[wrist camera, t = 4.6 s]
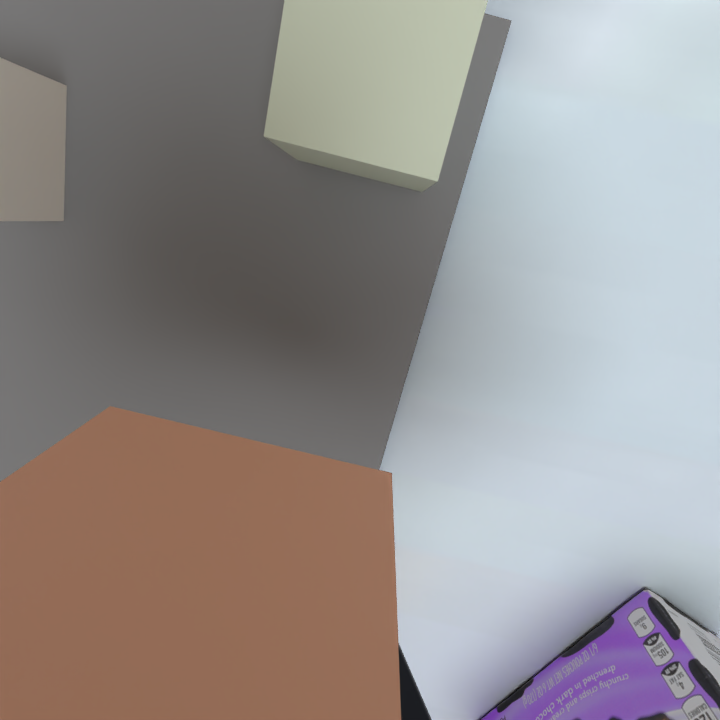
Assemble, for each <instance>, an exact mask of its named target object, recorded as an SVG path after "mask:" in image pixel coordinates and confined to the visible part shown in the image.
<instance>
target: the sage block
mask: <svg viewBox="0 0 720 720" xmlns="http://www.w3.org/2000/svg"><path fill="white" fill-rule="evenodd" d="M487 2H488V0H284V7H283V13H282V20H281V26H280V33H279V39H278V46H277V52H276V59H275V65H274V72H273V78H272V85H271V91H270V98H269V105H268V111H267V118H266V124H265V131H264V137H265V138H266V139H268V140H269V141H271V142H272V143H274V144H275V145H276V146H278V147H279V148H281V149H282V150H284V151H285V152H286V153H288V154H289V155H291V156H292V157H294V158H295V159H296V160H299V161H303V162H307V163H311V164H315V165H319V166H322V167H326V168H330V169H334V170H338V171H342V172H346V173H350V174H354V175H357V176H361V177H365V178H369V179H373V180H377V181H381V182H385V183H388V184H392V185H396V186H400V187H404V188H408V189H412V190H416V191H420V192H423V191H424V190H426V189H427V188H429V187H430V186H432V185H433V184H435V183H436V182H438V179H439V175H440V172H441V168H442V164H443V161H444V157H445V153H446V150H447V146H448V143H449V139H450V135H451V132H452V128H453V125H454V121H455V117H456V114H457V110H458V107H459V103H460V99H461V96H462V92H463V88H464V85H465V81H466V78H467V74H468V70H469V67H470V63H471V60H472V56H473V52H474V49H475V45H476V42H477V38H478V34H479V31H480V27H481V23H482V20H483V16H484V13H485V9H486V5H487Z"/></svg>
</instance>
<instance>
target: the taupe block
mask: <svg viewBox="0 0 720 720" xmlns="http://www.w3.org/2000/svg"><path fill="white" fill-rule="evenodd" d="M66 98H67V86H66V85H64V84H62V83H59V82H57V81H54V80H52V79H50V78H47V77H45V76H43V75H40V74H38V73H36V72H33V71H31V70H29V69H26V68H24V67H21V66H19V65H17V64H14V63H12V62H10V61H7V60H5V59H3V58H0V221H64V187H65V142H66Z"/></svg>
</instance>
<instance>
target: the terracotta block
mask: <svg viewBox="0 0 720 720" xmlns="http://www.w3.org/2000/svg"><path fill="white" fill-rule="evenodd" d="M0 720H401V701H400V675H399V650H398V624H397V598H396V572H395V546H394V520H393V494H392V473H389V472H385V471H381V470H377V469H372V468H368V467H364V466H360V465H356V464H351V463H347V462H343V461H339V460H335V459H330V458H326V457H322V456H318V455H314V454H309V453H305V452H301V451H297V450H293V449H288V448H284V447H280V446H276V445H272V444H267V443H263V442H259V441H255V440H251V439H246V438H242V437H238V436H234V435H230V434H225V433H221V432H217V431H213V430H209V429H204V428H200V427H196V426H192V425H188V424H183V423H179V422H175V421H171V420H166V419H162V418H158V417H154V416H150V415H145V414H141V413H137V412H133V411H129V410H124V409H120V408H116V407H112V406H110V407H108V408H107V409H105V410H104V411H102V412H101V413H99V414H98V415H97V416H95V417H94V418H92V419H91V420H89V421H88V422H86V423H85V424H84V425H82V426H81V427H79V428H78V429H76V430H75V431H73V432H72V433H70V434H69V435H68V436H66V437H65V438H63V439H62V440H60V441H59V442H57V443H56V444H54V445H53V446H52V447H50V448H49V449H47V450H46V451H44V452H43V453H41V454H40V455H39V456H37V457H36V458H34V459H33V460H31V461H30V462H28V463H27V464H25V465H24V466H23V467H21V468H20V469H18V470H17V471H15V472H14V473H12V474H11V475H10V476H8V477H7V478H5V479H4V480H2V481H1V482H0Z"/></svg>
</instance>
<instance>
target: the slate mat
mask: <svg viewBox="0 0 720 720" xmlns="http://www.w3.org/2000/svg"><path fill="white" fill-rule="evenodd" d="M283 7H284V0H0V58H3V59H5V60H7V61H10V62H12V63H14V64H17V65H19V66H21V67H24V68H26V69H29V70H31V71H33V72H36V73H38V74H40V75H43V76H45V77H47V78H50V79H52V80H54V81H57V82H59V83H62V84H64V85H66V86H67V98H66V142H65V187H64V221H0V482H1V481H2V480H4V479H5V478H7V477H8V476H10V475H11V474H12V473H14V472H15V471H17V470H18V469H20V468H21V467H23V466H24V465H25V464H27V463H28V462H30V461H31V460H33V459H34V458H36V457H37V456H39V455H40V454H41V453H43V452H44V451H46V450H47V449H49V448H50V447H52V446H53V445H54V444H56V443H57V442H59V441H60V440H62V439H63V438H65V437H66V436H68V435H69V434H70V433H72V432H73V431H75V430H76V429H78V428H79V427H81V426H82V425H84V424H85V423H86V422H88V421H89V420H91V419H92V418H94V417H95V416H97V415H98V414H99V413H101V412H102V411H104V410H105V409H107V408H108V407H110V406H112V407H116V408H120V409H124V410H129V411H133V412H137V413H141V414H145V415H150V416H154V417H158V418H162V419H166V420H171V421H175V422H179V423H183V424H188V425H192V426H196V427H200V428H204V429H209V430H213V431H217V432H221V433H225V434H230V435H234V436H238V437H242V438H246V439H251V440H255V441H259V442H263V443H267V444H272V445H276V446H280V447H284V448H288V449H293V450H297V451H301V452H305V453H309V454H314V455H318V456H322V457H326V458H330V459H335V460H339V461H343V462H347V463H351V464H356V465H360V466H364V467H368V468H372V469H377V470H379V468H380V465H381V461H382V458H383V455H384V451H385V448H386V444H387V441H388V438H389V434H390V431H391V428H392V424H393V421H394V417H395V414H396V411H397V407H398V404H399V400H400V397H401V394H402V390H403V387H404V383H405V380H406V377H407V373H408V370H409V366H410V363H411V360H412V356H413V353H414V350H415V346H416V343H417V339H418V336H419V333H420V329H421V326H422V322H423V319H424V316H425V312H426V309H427V305H428V302H429V299H430V295H431V292H432V288H433V285H434V282H435V278H436V275H437V272H438V268H439V265H440V261H441V258H442V255H443V251H444V248H445V244H446V241H447V238H448V234H449V231H450V227H451V224H452V221H453V217H454V214H455V210H456V207H457V204H458V200H459V197H460V194H461V190H462V187H463V183H464V180H465V177H466V173H467V170H468V166H469V163H470V160H471V156H472V153H473V149H474V146H475V143H476V139H477V136H478V132H479V129H480V126H481V122H482V119H483V116H484V112H485V109H486V105H487V102H488V99H489V95H490V92H491V88H492V85H493V82H494V78H495V75H496V71H497V68H498V65H499V61H500V58H501V54H502V51H503V48H504V44H505V41H506V38H507V34H508V31H509V27H510V24H511V20H507V19H503V18H500V17H496V16H492V15H488V14H485V13H484V16H483V20H482V23H481V27H480V31H479V34H478V38H477V42H476V45H475V49H474V52H473V56H472V60H471V63H470V67H469V70H468V74H467V78H466V81H465V85H464V88H463V92H462V96H461V99H460V103H459V107H458V110H457V114H456V117H455V121H454V125H453V128H452V132H451V135H450V139H449V143H448V146H447V150H446V153H445V157H444V161H443V164H442V168H441V172H440V175H439V179H438V182H436V183H435V184H433V185H432V186H430V187H429V188H427V189H426V190H424V191H423V192H420V191H416V190H412V189H408V188H404V187H400V186H396V185H392V184H388V183H385V182H381V181H377V180H373V179H369V178H365V177H361V176H357V175H354V174H350V173H346V172H342V171H338V170H334V169H330V168H326V167H322V166H319V165H315V164H311V163H307V162H303V161H299V160H296V159H295V158H294V157H292V156H291V155H289V154H288V153H286V152H285V151H284V150H282V149H281V148H279V147H278V146H276V145H275V144H274V143H272V142H271V141H269V140H268V139H266V138H265V137H264V131H265V124H266V118H267V111H268V105H269V98H270V91H271V85H272V78H273V72H274V65H275V59H276V52H277V46H278V39H279V33H280V26H281V20H282V13H283Z"/></svg>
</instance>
